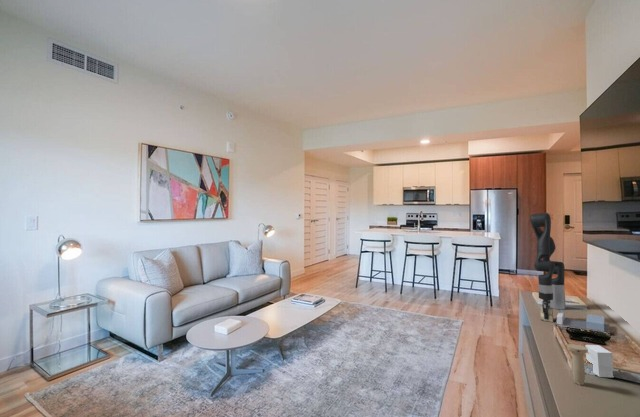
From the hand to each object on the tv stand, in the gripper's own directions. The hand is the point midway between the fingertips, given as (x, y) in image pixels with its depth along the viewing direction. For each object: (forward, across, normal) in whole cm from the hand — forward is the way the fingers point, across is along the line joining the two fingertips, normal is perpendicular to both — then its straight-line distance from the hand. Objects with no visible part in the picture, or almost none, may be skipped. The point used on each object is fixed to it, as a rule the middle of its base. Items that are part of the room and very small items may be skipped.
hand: (547, 318), depth 194 cm
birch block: (+1, 0, 0) cm, 1 cm away
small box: (+2, +61, +26) cm, 66 cm away
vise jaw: (0, 0, +23) cm, 23 cm away
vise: (+2, 0, +17) cm, 17 cm away
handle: (+1, +77, +20) cm, 80 cm away
